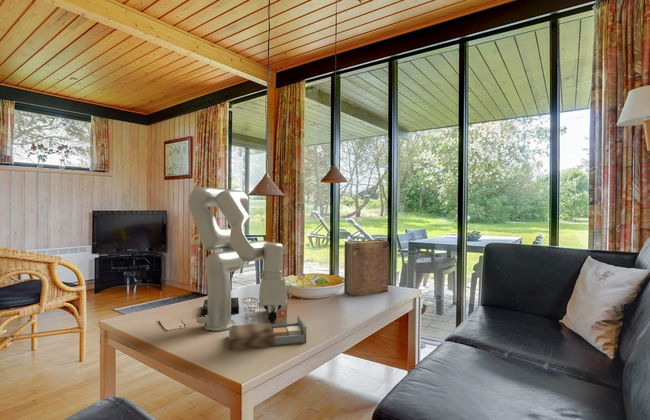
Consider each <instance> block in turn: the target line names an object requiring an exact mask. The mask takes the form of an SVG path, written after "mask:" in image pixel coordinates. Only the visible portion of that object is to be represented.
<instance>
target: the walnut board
mask: <svg viewBox="0 0 650 420" xmlns="http://www.w3.org/2000/svg"><path fill="white" fill-rule="evenodd" d="M271 325H272V323H270V322H263V323H251V324H240V325H234V326H229V329H228V331H229V333H228V336H229V338H228V339H229V340H228V343H229V347H228V348H229V350H228V351H236V350H237V351H239V350H246V349H247V350H248V349H256V348H267V347H275V344H274V332H273V330H272V327H271Z"/></svg>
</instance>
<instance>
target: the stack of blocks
mask: <svg viewBox="0 0 650 420" xmlns="http://www.w3.org/2000/svg"><path fill="white" fill-rule="evenodd" d="M273 309H274V305H273V306H271V310H272V311H273ZM278 324H288V301H287V300H286V306H284V307H281V308H280V309H279V310H278V311H277V316H276V320H275V323H272V325H278Z"/></svg>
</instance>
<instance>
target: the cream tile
mask: <svg viewBox="0 0 650 420" xmlns="http://www.w3.org/2000/svg"><path fill="white" fill-rule="evenodd" d="M286 330H287V336H289V335H300V334H301V328H300V327H299V326H290V327H286Z"/></svg>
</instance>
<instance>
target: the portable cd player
mask: <svg viewBox="0 0 650 420" xmlns="http://www.w3.org/2000/svg"><path fill="white" fill-rule="evenodd" d="M202 305H203V306H202V309H201V312H200V313H201V314H200V316H201V317H202V316H203V317H206V316H205V315H208V299H204V301H203V304H202ZM238 314H239V315H240V302H239V297H231V315H238Z"/></svg>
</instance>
